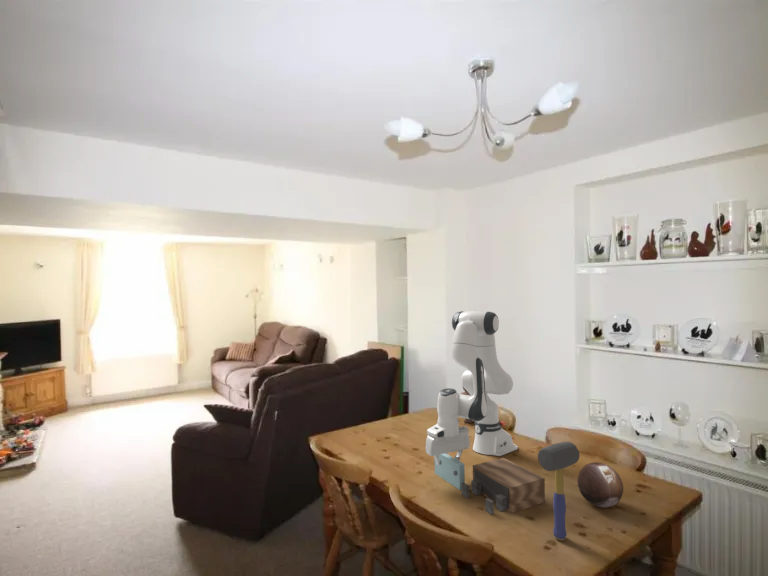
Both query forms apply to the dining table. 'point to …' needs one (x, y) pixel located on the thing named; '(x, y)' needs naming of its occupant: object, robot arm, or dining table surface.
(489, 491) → the cabinet
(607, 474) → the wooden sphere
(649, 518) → the dining table surface
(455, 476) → the door
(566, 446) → the rubber mallet
